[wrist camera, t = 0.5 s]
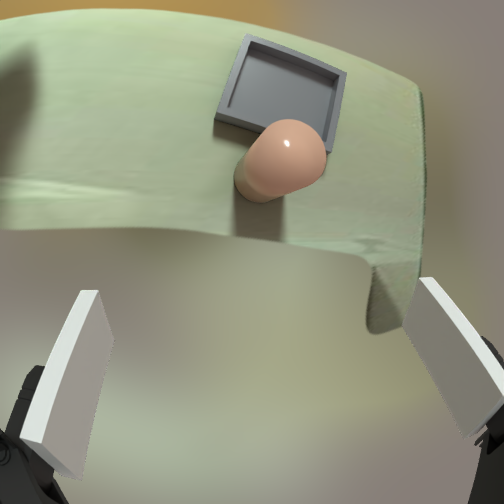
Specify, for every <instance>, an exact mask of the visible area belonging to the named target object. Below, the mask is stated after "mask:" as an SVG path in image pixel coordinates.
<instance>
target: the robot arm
mask: <svg viewBox="0 0 504 504" xmlns="http://www.w3.org/2000/svg"><path fill="white" fill-rule="evenodd" d="M402 327H403V329H404V330H405V332H406V334H407V335H408V337H409V339H410V340H411V342H412V344H413V345H414V347H415V349H416V351H417V352H418V354H419V356H420V358H421V359H422V361H423V363H424V365H425V366H426V368H427V370H428V372H429V374H430V375H431V377H432V379H433V381H434V382H435V384H436V386H437V388H438V390H439V392H440V394H441V396H442V398H443V399H444V401H445V403H446V405H447V407H448V409H449V411H450V413H451V415H452V417H453V419H454V421H455V423H456V425H457V427H458V429H459V431H460V433H461V435H462V437H463V439H466V438H468V437H470V436H472V435H474V434H476V433H478V432H479V431H480V429H482V428H483V427H484V425H485V424H486V426H487V428H488V429H487V430H486V431H485V432H484V433H483V434H482V435H481V436H480V437H479V438H478V439H477V440H476V441H475V444H474V445H475V446H476V445H477V444H479V443H480V442H481V441H482V440H483V442H482V443H481V444H480V446H479V447H481V448H482V449H481V454H480V458H479V463H478V468H477V472H476V476H475V480H474V483H473V487H472V491H471V494H470V498H469V501H468V504H504V362H503V358H502V357H501V356H500V355H499V354H498V351H497V350H496V349H495V348H494V346H493V345H492V343H490V342H489V341H488V340H487V339H486V338H484V337H483V336H481V337H480V336H479V335H478V333H477V332H476V331H475V329H474V328H473V327H472V325H471V324H470V323H469V322H468V320H467V319H466V317H464V315H463V314H462V312H461V311H460V310H459V309H458V307H457V306H456V305H455V304H454V302H453V301H452V300H451V299H450V297H449V296H448V295H447V294H446V293H445V292H444V290H443V289H442V288H441V287H440V286H439V284H438V283H437V282H436V281H435V280H434V279H433V277H425V278H419V280H418V283H417V285H416V288H415V291H414V294H413V297H412V300H411V302H410V305H409V308H408V310H407V313H406V315H405V318H404V321H403V323H402ZM114 341H115V340H114V338H113V335H112V332H111V329H110V326H109V323H108V320H107V317H106V314H105V311H104V308H103V304H102V301H101V298H100V295H99V291H98V290H81V292H80V294H79V296H78V298H77V299H76V301H75V303H74V305H73V307H72V309H71V311H70V313H69V315H68V317H67V320H66V322H65V324H64V326H63V328H62V330H61V332H60V334H59V337H58V339H57V341H56V343H55V345H54V348H53V350H52V352H51V354H50V357H49V359H48V362H47V364H46V366H39V365H36V366H35V367H34V368H33V369H32V370H31V371H30V372H29V374H27V376H26V378H25V381H24V383H23V385H22V390H20V393H19V395H18V400H16V403H15V405H14V408H13V411H12V413H11V416H10V419H9V422H8V424H7V427H6V430H5V433H4V432H3V431H2V430H1V429H0V504H69V503H68V501H67V500H66V498H65V496H64V494H63V493H62V491H61V489H60V487H59V485H58V484H57V482H56V480H55V479H54V478H53V473H54V470H55V471H57V472H58V473H59V474H60V475H61V476H64V477H68V478H72V479H77V480H82V476H83V471H84V465H85V459H86V454H87V449H88V444H89V439H90V435H91V430H92V425H93V421H94V417H95V412H96V408H97V404H98V400H99V396H100V392H101V388H102V384H103V380H104V376H105V373H106V369H107V366H108V362H109V358H110V355H111V351H112V348H113V345H114Z"/></svg>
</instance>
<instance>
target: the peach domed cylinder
mask: <svg viewBox="0 0 504 504" xmlns="http://www.w3.org/2000/svg"><path fill="white" fill-rule="evenodd" d="M325 165H326V150H325V146H324V144H323V141H322V139H321V138H320V136H319V135H318V134H317V132H316V131H315V130H314V129H313V128H311V127H310V126H309V125H307V124H305V123H303V122H301V121H298V120H293V119H284V120H279V121H276V122H274V123H272V124H271V125H269V126H268V127H267V128H266V129H265V130H264V132H263V133H262V134H261V135H260V136H259V138H258V139H257V140H256V141H255V142H254V144H253V145H252V146H251V147H250V148H249V150H248V151H247V152H246V153H245V155H244V156H243V157H242V158H241V160H240V161H239V162H238V164H237V166H236V168H235V172H234V181H235V185H236V187H237V189H238V191H239V192H240V193H241V195H243V196H244V197H245V198H246V199H248V200H250V201H253V202H257V203H264V202H268V201H271V200H274V199H276V198H279V197H281V196H284V195H286V194H289V193H291V192H294V191H296V190H299V189H301V188H304V187H306V186H309V185H311V184H312V183H314V182H315V181H316V180H318V178H319V177H320V176H321V174H322V173H323V171H324V168H325Z"/></svg>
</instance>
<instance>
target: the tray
mask: <svg viewBox="0 0 504 504" xmlns="http://www.w3.org/2000/svg"><path fill="white" fill-rule="evenodd" d="M346 75H347V73H346V72H344V71H342V70H339V69H337V68H335V67H333V66H331V65H328V64H326V63H324V62H322V61H319V60H317V59H315V58H312V57H310V56H308V55H305V54H303V53H300V52H298V51H295V50H292V49H290V48H287V47H285V46H282V45H279V44H276V43H274V42H271V41H268V40H265V39H262V38H259V37H256V36H253V35H250V34H245V36H244V39H243V41H242V44H241V46H240V49H239V51H238V54H237V57H236V59H235V62H234V65H233V67H232V70H231V73H230V75H229V78H228V81H227V83H226V86H225V89H224V92H223V95H222V97H221V100H220V103H219V106H218V109H217V112H216V115H215V118H214V119H215V120H218V121H221V122H225V123H228V124H231V125H235V126H238V127H241V128H244V129H247V130H250V131H253V132H256V133H260V134H262V133H263V132H264V130H265V129H266V128H267V127H268V126H269V125H271V124H272V123H274V122H276V121H279V120H284V119H293V120H298V121H301V122H303V123H305V124H307V125H309V126H310V127H311V128H313V129H314V130H315V131H316V132H317V134H318V135H319V136H320V138H321V139H322V141H323V144H324V146H325V150H326V155H327V154H329V153H331V152H332V148H333V143H334V138H335V133H336V128H337V123H338V118H339V113H340V108H341V103H342V97H343V92H344V86H345V81H346Z"/></svg>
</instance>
